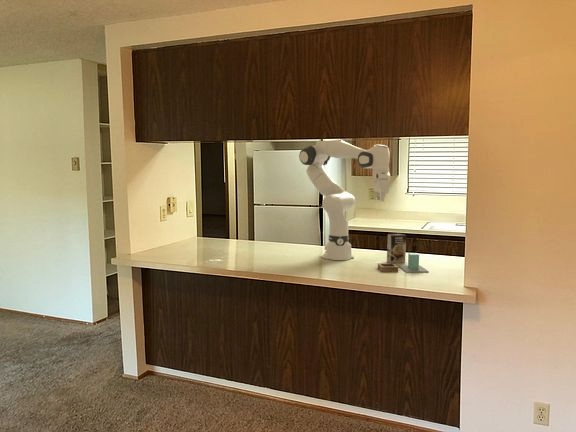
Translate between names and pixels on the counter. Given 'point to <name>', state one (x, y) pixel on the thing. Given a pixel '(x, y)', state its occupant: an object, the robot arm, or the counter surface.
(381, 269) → the walnut collar
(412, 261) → the teal block
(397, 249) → the coffee box
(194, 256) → the counter surface
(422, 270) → the slate mat
